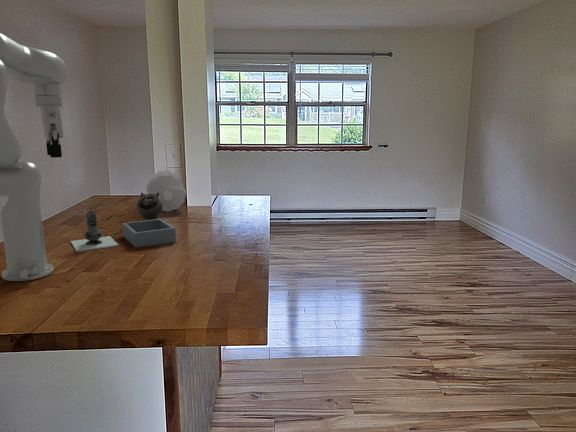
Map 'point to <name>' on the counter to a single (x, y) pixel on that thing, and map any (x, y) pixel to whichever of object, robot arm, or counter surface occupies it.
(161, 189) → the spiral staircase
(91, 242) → the stone chess piece
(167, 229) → the crate
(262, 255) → the counter surface
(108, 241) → the mat
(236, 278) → the counter surface
